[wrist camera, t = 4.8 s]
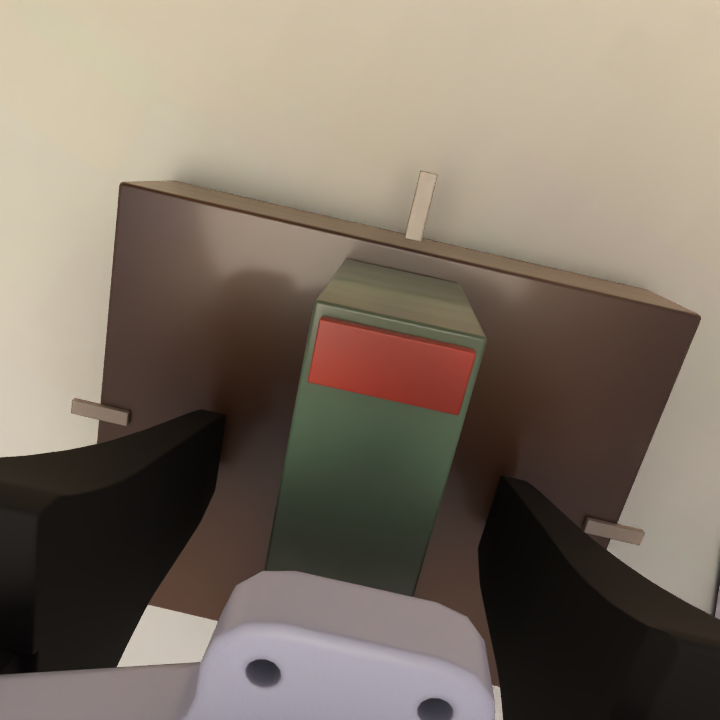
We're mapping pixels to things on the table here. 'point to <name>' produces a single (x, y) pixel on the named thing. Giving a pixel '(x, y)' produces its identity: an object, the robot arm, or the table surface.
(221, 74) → the table surface
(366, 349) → the green box
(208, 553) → the brown blocky piece
